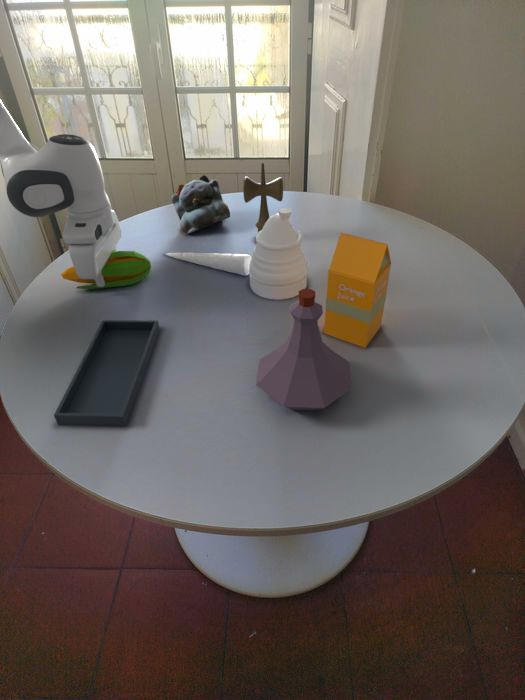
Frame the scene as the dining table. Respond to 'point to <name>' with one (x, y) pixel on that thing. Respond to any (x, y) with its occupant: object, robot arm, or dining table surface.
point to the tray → (109, 375)
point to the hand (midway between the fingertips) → (107, 275)
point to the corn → (116, 270)
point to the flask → (304, 363)
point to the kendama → (262, 194)
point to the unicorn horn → (218, 261)
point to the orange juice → (356, 289)
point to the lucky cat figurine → (199, 204)
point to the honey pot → (278, 259)
